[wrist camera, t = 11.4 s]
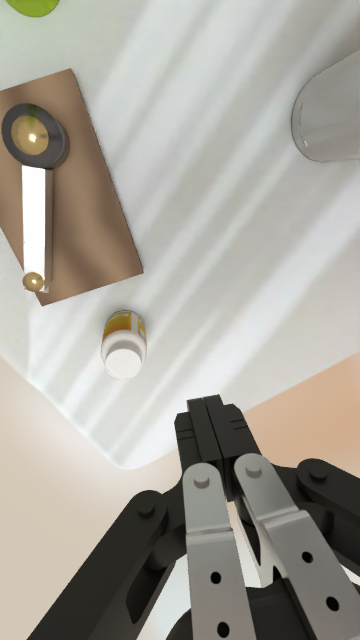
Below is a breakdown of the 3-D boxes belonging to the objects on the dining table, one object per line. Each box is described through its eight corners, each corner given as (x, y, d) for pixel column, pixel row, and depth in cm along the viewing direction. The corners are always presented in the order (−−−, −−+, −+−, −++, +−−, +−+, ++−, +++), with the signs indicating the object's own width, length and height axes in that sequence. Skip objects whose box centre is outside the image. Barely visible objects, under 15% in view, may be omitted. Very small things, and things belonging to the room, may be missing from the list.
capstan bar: (17, 107, 31) (-3, 95, 27) (70, 119, 32) (60, 108, 27) (20, 277, 37) (5, 290, 33) (65, 282, 38) (56, 296, 34)
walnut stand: (74, 74, 32) (70, 67, 30) (143, 269, 41) (143, 273, 39) (-50, 114, 32) (-62, 110, 30) (46, 300, 41) (41, 307, 39)
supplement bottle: (97, 335, 44) (89, 374, 35) (116, 302, 42) (112, 334, 33) (132, 351, 45) (132, 392, 37) (152, 321, 44) (157, 356, 35)
